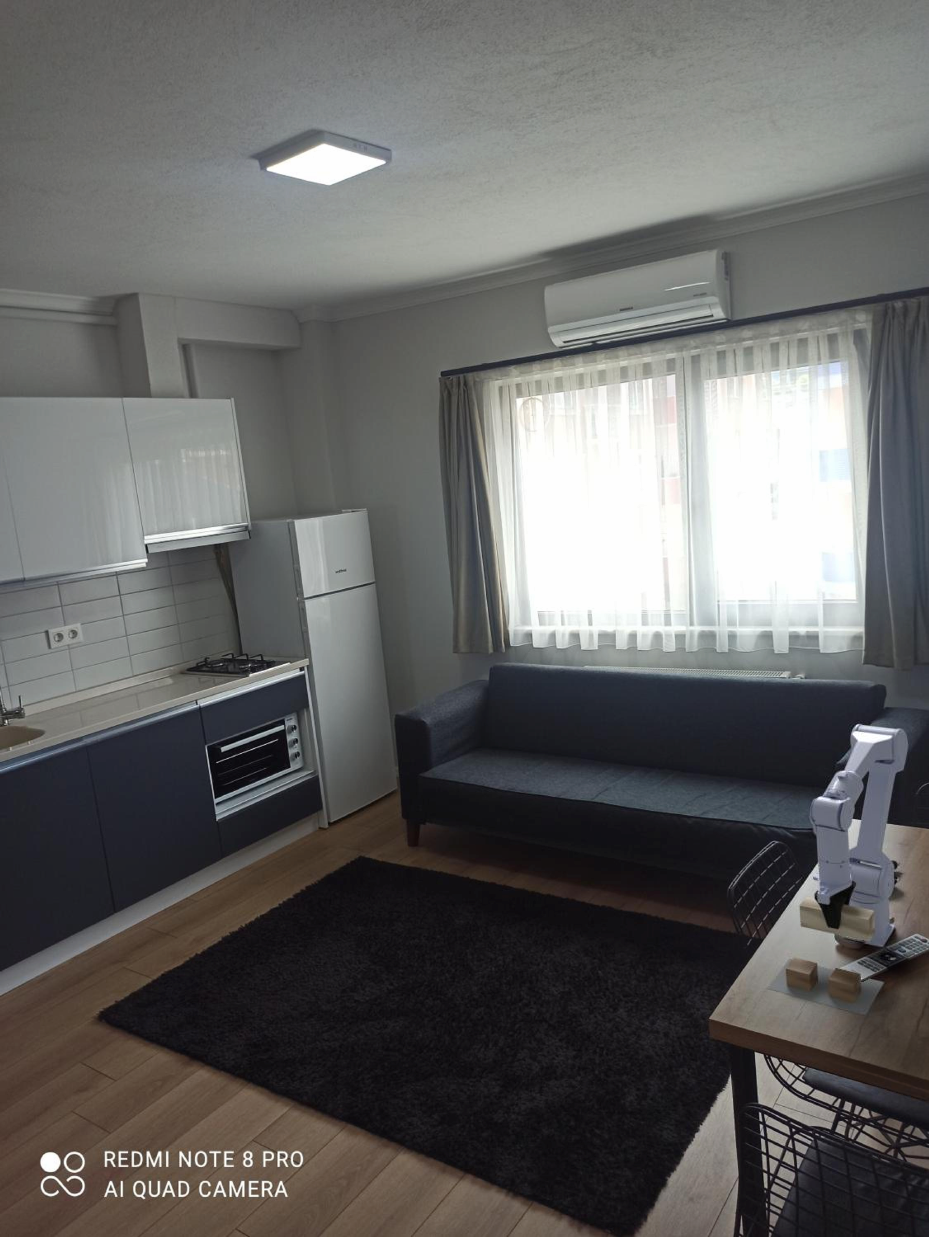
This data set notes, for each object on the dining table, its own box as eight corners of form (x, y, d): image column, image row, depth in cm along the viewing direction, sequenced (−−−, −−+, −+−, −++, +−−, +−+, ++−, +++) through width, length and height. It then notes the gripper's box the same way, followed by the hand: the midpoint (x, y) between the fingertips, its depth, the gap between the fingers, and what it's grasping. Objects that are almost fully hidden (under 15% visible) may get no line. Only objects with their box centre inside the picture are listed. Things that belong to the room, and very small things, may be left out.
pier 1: (794, 973, 181) (793, 957, 180) (818, 979, 178) (817, 962, 177) (786, 985, 177) (785, 968, 177) (810, 991, 174) (809, 974, 174)
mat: (789, 960, 186) (789, 958, 186) (884, 983, 175) (883, 982, 174) (767, 989, 177) (767, 988, 177) (865, 1016, 165) (865, 1015, 165)
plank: (807, 917, 187) (806, 896, 186) (875, 932, 178) (874, 910, 178) (800, 926, 184) (799, 905, 183) (869, 941, 175) (868, 919, 175)
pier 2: (836, 984, 175) (835, 967, 175) (861, 990, 173) (860, 973, 172) (829, 996, 172) (828, 979, 172) (854, 1003, 169) (853, 985, 169)
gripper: (824, 839, 186) (828, 901, 189) (799, 868, 176) (803, 934, 178) (861, 845, 182) (864, 909, 184) (838, 875, 171) (841, 942, 173)
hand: (837, 922), depth 181 cm, fingers closed on plank, 4 cm apart
